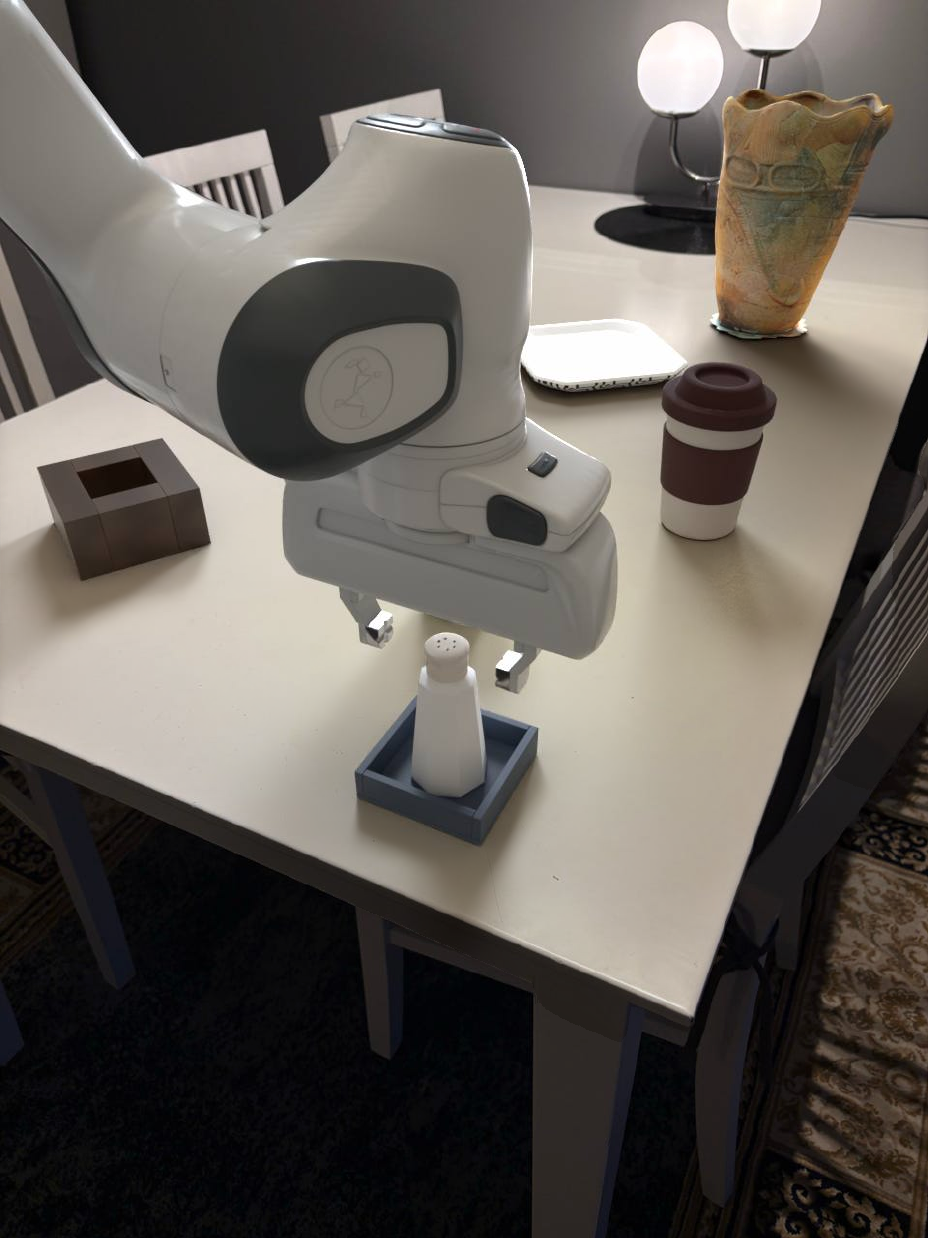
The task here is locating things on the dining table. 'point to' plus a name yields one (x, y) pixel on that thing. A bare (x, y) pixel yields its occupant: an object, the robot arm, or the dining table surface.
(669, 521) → the coffee cup
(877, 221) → the dining table surface
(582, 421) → the dining table surface
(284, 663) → the dining table surface
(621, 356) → the plate
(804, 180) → the vase
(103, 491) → the holder
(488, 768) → the tray
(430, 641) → the pepper shaker
